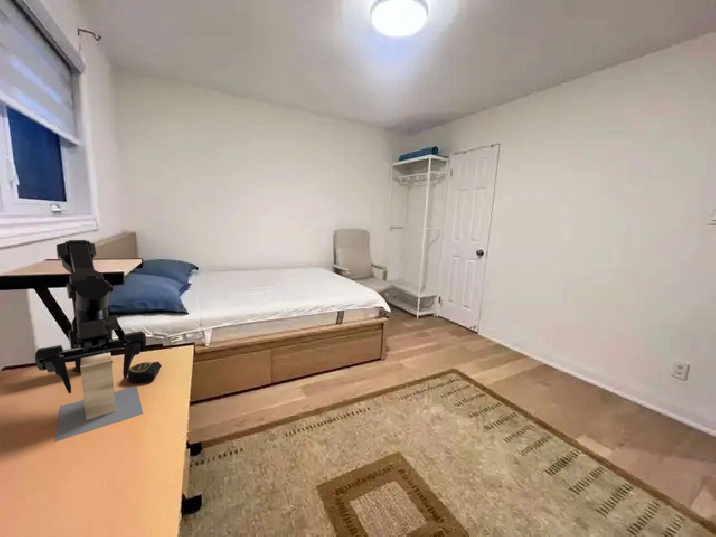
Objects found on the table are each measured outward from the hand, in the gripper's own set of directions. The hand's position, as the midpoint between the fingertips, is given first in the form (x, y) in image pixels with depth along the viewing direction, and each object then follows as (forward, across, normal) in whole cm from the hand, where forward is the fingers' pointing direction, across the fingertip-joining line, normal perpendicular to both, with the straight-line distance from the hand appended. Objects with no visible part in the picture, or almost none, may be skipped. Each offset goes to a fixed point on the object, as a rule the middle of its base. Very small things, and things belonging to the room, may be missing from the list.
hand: (98, 385), depth 67 cm
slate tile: (+4, 0, +6) cm, 7 cm away
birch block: (+4, 0, +5) cm, 6 cm away
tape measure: (-3, +10, +14) cm, 17 cm away
